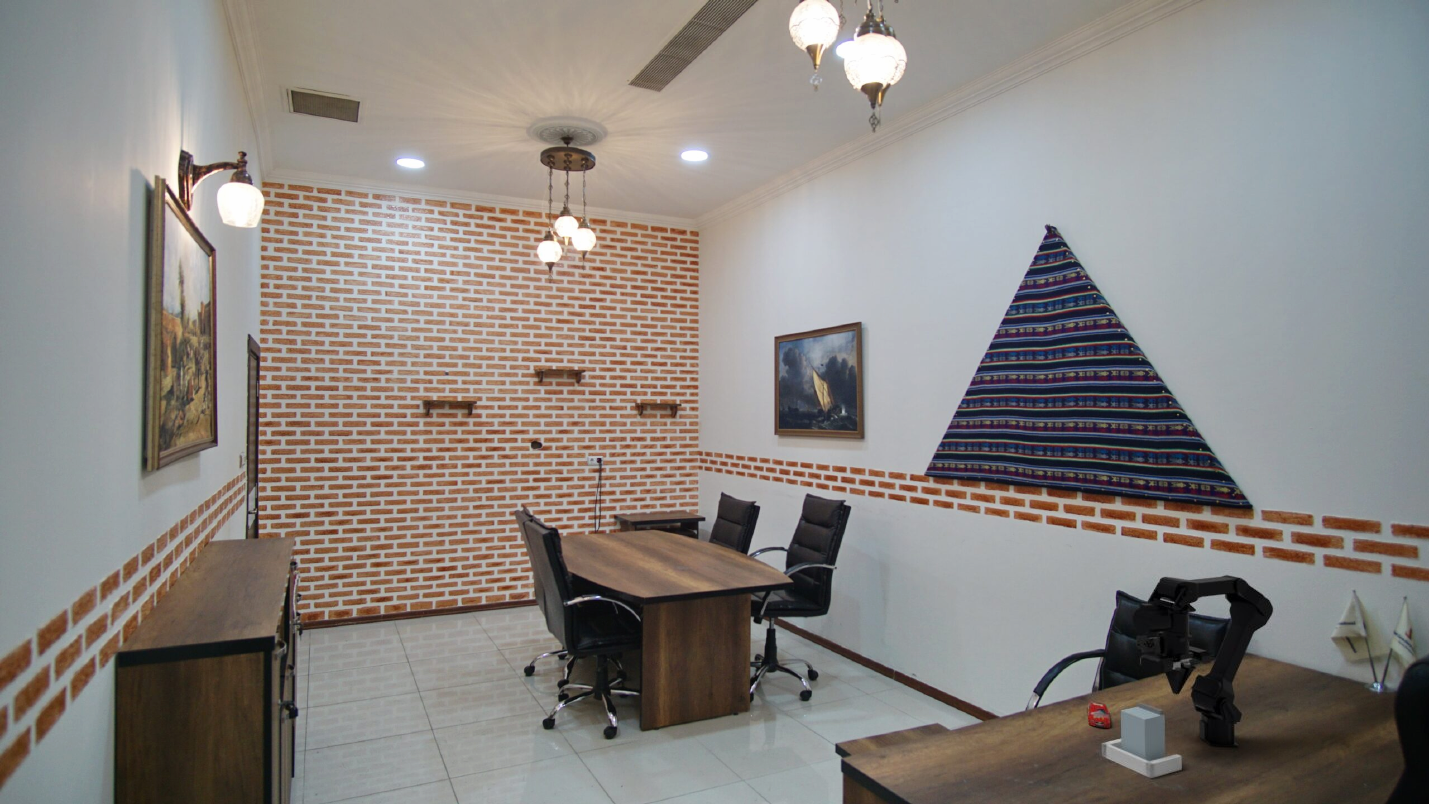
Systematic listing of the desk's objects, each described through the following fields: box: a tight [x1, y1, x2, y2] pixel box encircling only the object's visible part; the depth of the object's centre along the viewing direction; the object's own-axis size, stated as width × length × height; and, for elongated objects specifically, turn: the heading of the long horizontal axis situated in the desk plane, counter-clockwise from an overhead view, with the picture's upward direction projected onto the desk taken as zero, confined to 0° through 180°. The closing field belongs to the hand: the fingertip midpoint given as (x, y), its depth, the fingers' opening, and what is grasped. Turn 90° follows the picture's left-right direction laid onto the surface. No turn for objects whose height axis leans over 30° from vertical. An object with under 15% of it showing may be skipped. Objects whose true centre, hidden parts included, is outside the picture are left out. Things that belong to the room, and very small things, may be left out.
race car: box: [1086, 701, 1111, 729], centre depth 203 cm, size 13×5×4 cm, turn 154°
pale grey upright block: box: [1120, 702, 1166, 761], centre depth 178 cm, size 7×6×12 cm
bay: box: [1101, 738, 1183, 779], centre depth 177 cm, size 11×12×3 cm
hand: (1175, 693), depth 186 cm, fingers closed
